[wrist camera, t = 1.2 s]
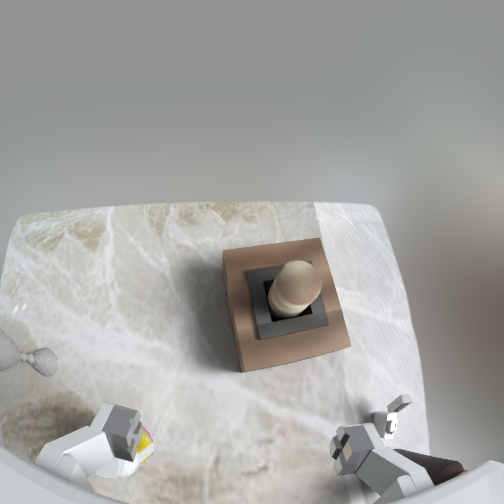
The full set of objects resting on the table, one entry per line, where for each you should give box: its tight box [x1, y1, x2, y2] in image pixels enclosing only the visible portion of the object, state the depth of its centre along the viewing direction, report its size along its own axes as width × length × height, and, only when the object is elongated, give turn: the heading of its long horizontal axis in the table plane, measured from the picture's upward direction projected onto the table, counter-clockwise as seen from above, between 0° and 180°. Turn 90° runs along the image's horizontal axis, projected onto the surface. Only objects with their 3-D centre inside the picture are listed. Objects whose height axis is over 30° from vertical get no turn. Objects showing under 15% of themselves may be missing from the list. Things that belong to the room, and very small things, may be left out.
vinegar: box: [394, 449, 469, 486], centre depth 23 cm, size 7×7×20 cm
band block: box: [223, 238, 351, 373], centre depth 39 cm, size 16×14×9 cm
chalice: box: [0, 330, 57, 376], centre depth 27 cm, size 7×7×18 cm
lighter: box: [373, 394, 411, 439], centre depth 33 cm, size 7×2×8 cm, turn 172°
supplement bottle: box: [94, 425, 155, 478], centre depth 26 cm, size 7×7×13 cm
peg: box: [267, 260, 322, 320], centre depth 33 cm, size 5×5×8 cm
